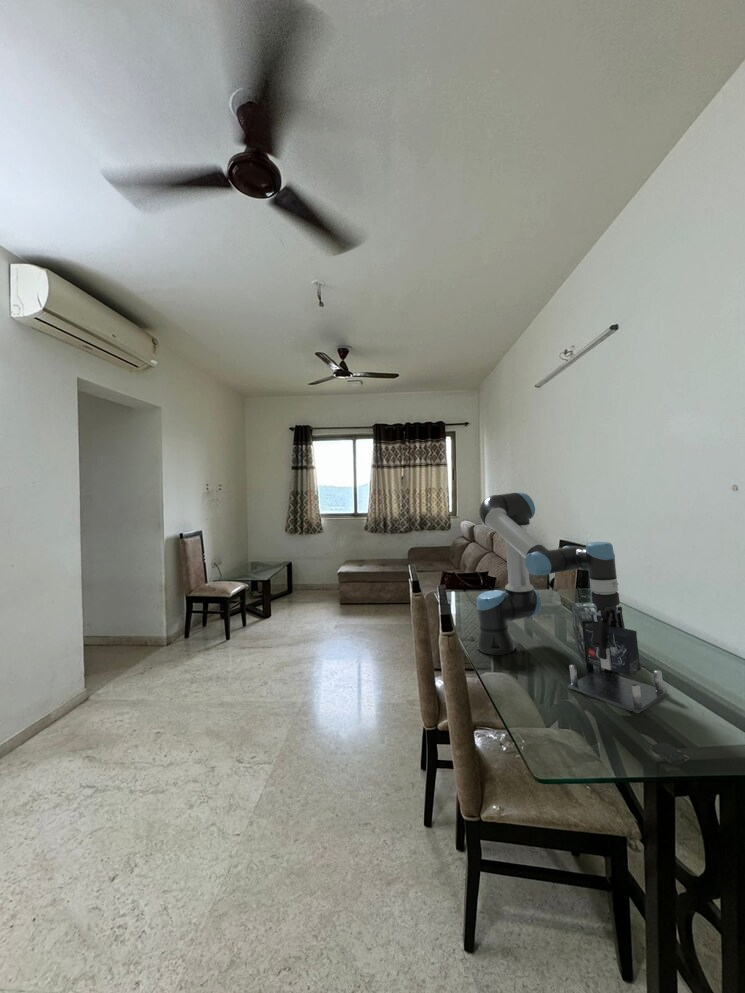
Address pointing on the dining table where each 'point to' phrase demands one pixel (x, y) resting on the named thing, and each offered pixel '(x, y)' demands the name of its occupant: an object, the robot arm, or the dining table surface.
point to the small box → (615, 649)
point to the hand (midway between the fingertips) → (613, 664)
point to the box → (581, 620)
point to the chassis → (618, 689)
